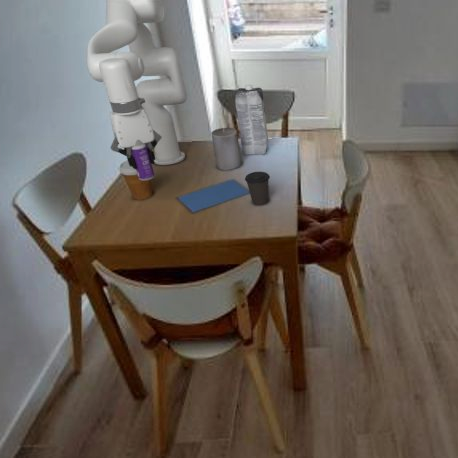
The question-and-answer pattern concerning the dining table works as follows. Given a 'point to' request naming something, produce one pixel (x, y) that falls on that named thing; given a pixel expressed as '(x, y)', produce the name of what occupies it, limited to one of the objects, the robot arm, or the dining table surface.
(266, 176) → the coffee cup
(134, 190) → the disposable coffee cup
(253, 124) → the juice carton
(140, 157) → the container
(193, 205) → the napkin
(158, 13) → the robot arm
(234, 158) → the pillar candle
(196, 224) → the dining table surface
